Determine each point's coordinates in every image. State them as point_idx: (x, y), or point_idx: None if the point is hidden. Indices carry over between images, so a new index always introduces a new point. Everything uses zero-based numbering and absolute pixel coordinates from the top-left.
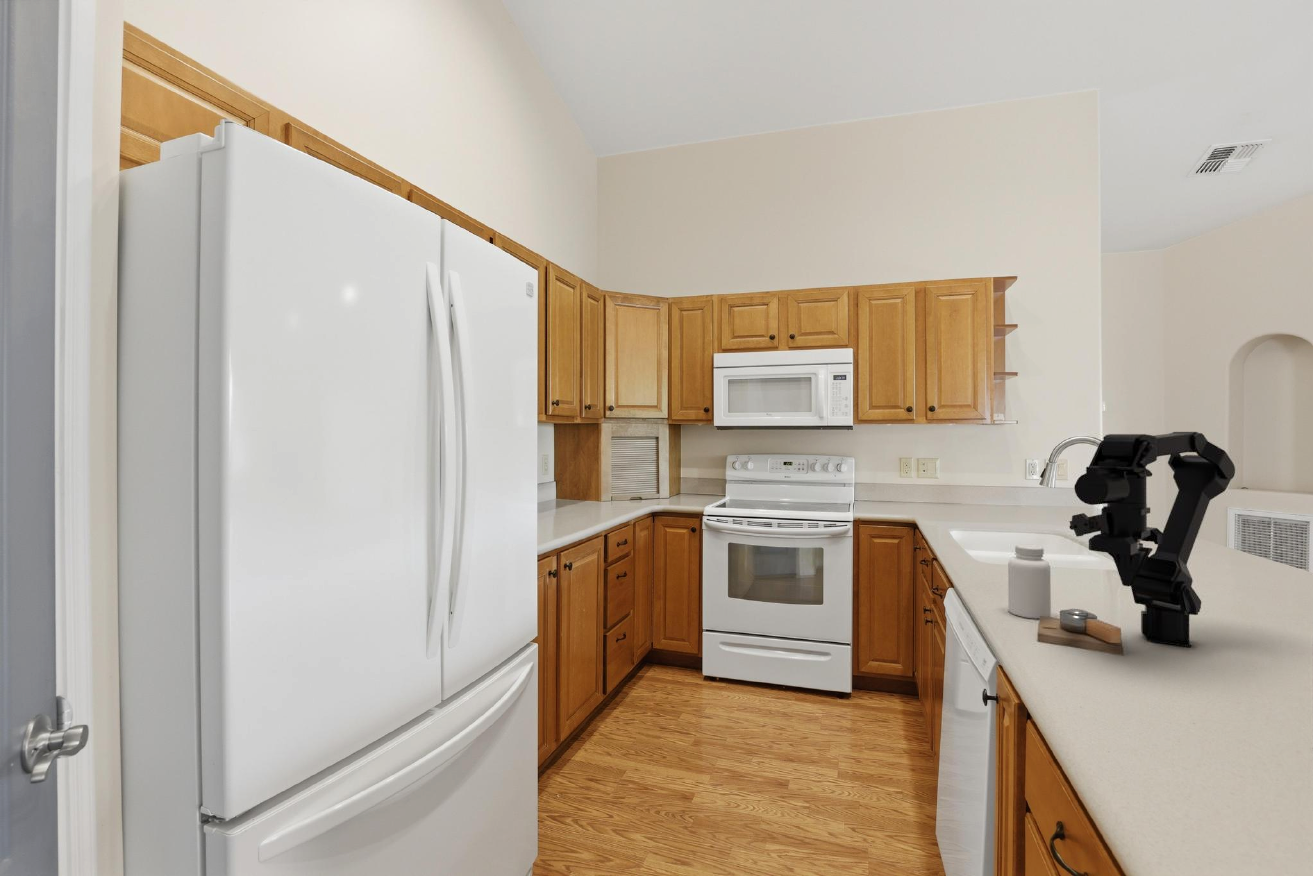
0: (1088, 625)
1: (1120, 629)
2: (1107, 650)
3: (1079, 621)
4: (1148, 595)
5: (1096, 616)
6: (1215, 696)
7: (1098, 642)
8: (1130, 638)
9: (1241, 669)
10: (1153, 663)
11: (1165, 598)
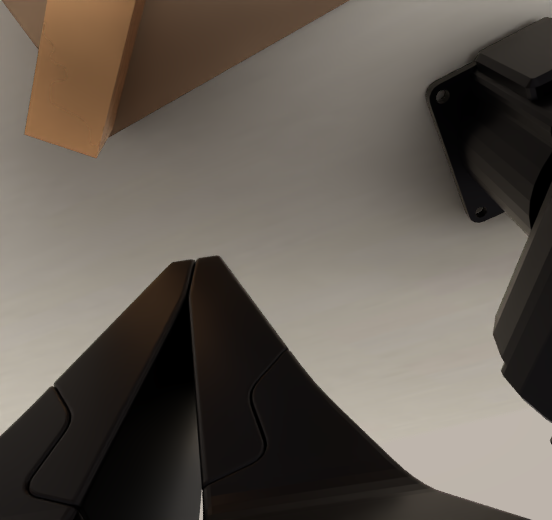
0: None
1: (93, 155)
2: None
3: None
4: (545, 197)
5: None
6: None
7: (38, 39)
8: (417, 15)
9: (344, 364)
10: (133, 229)
11: (505, 297)
